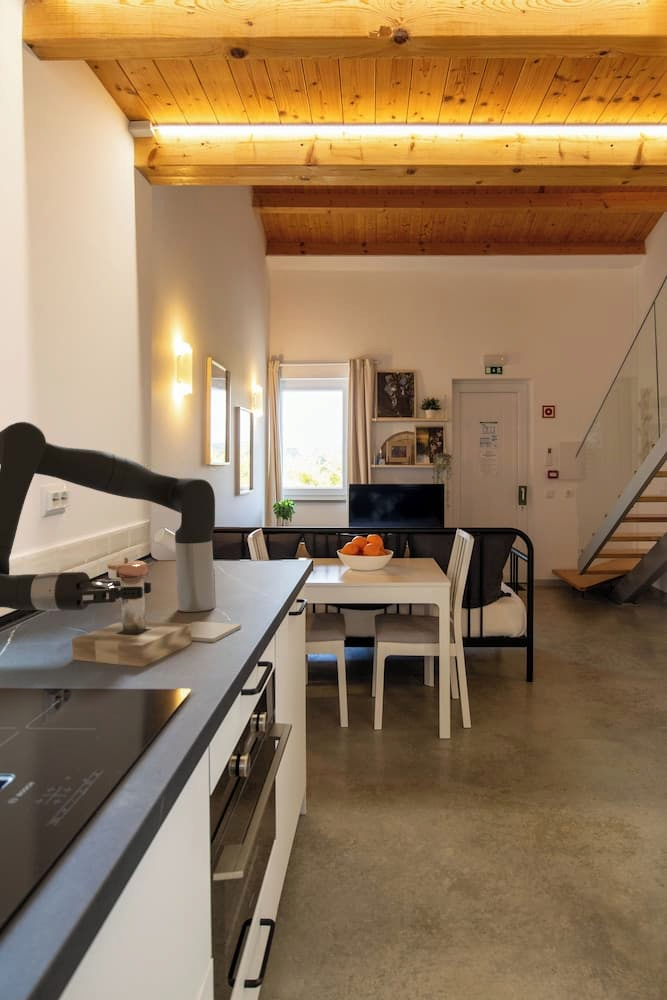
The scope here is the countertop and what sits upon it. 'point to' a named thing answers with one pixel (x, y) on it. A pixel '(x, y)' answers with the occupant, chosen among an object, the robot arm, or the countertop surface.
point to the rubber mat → (211, 631)
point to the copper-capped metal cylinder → (133, 607)
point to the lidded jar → (113, 567)
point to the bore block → (131, 644)
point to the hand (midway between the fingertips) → (146, 589)
